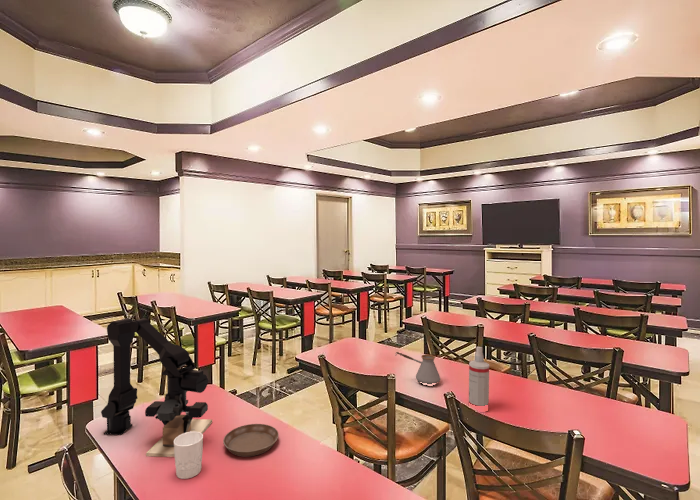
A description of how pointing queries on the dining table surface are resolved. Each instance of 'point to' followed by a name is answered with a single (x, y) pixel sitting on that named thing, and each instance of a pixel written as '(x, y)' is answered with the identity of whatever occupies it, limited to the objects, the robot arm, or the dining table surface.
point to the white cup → (188, 454)
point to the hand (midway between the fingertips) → (177, 434)
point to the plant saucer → (250, 439)
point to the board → (168, 451)
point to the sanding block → (173, 430)
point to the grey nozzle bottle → (478, 380)
